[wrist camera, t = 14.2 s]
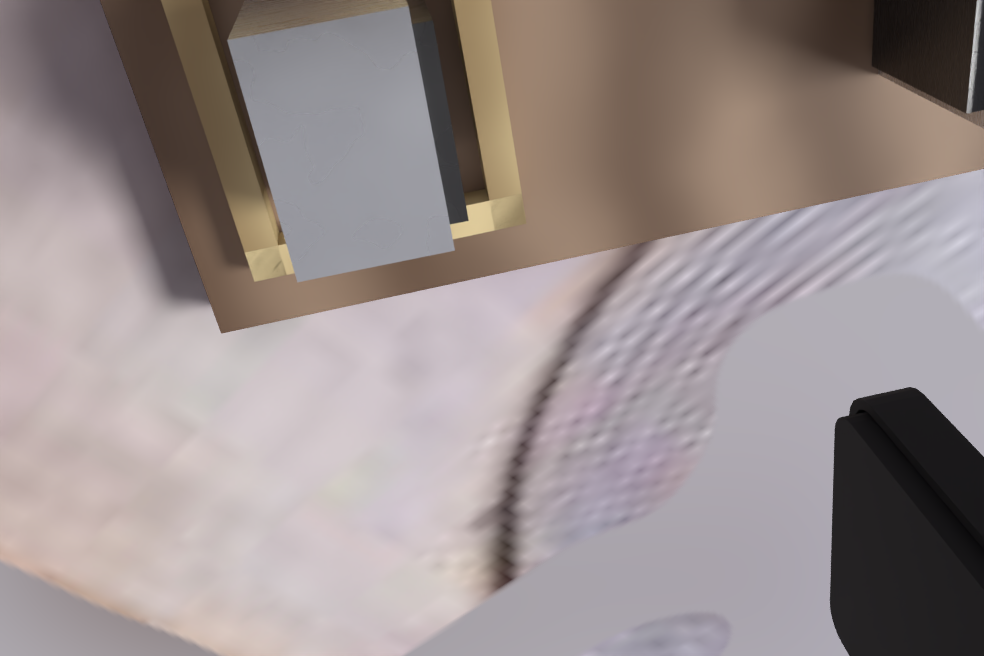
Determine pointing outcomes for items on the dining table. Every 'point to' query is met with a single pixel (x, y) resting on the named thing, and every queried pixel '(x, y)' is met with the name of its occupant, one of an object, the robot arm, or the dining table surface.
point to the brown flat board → (554, 133)
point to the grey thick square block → (350, 129)
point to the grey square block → (933, 51)
